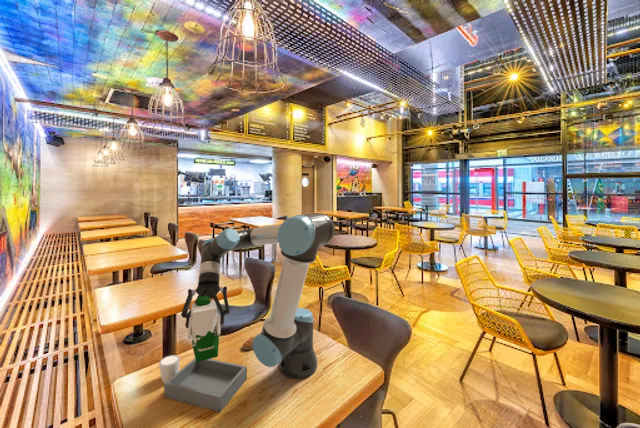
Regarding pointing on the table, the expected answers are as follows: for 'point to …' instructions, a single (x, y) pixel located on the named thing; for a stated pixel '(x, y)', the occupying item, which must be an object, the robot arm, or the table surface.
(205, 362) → the bin
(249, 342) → the pastry
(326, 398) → the table surface
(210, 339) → the soya milk
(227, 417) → the table surface
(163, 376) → the white round container
